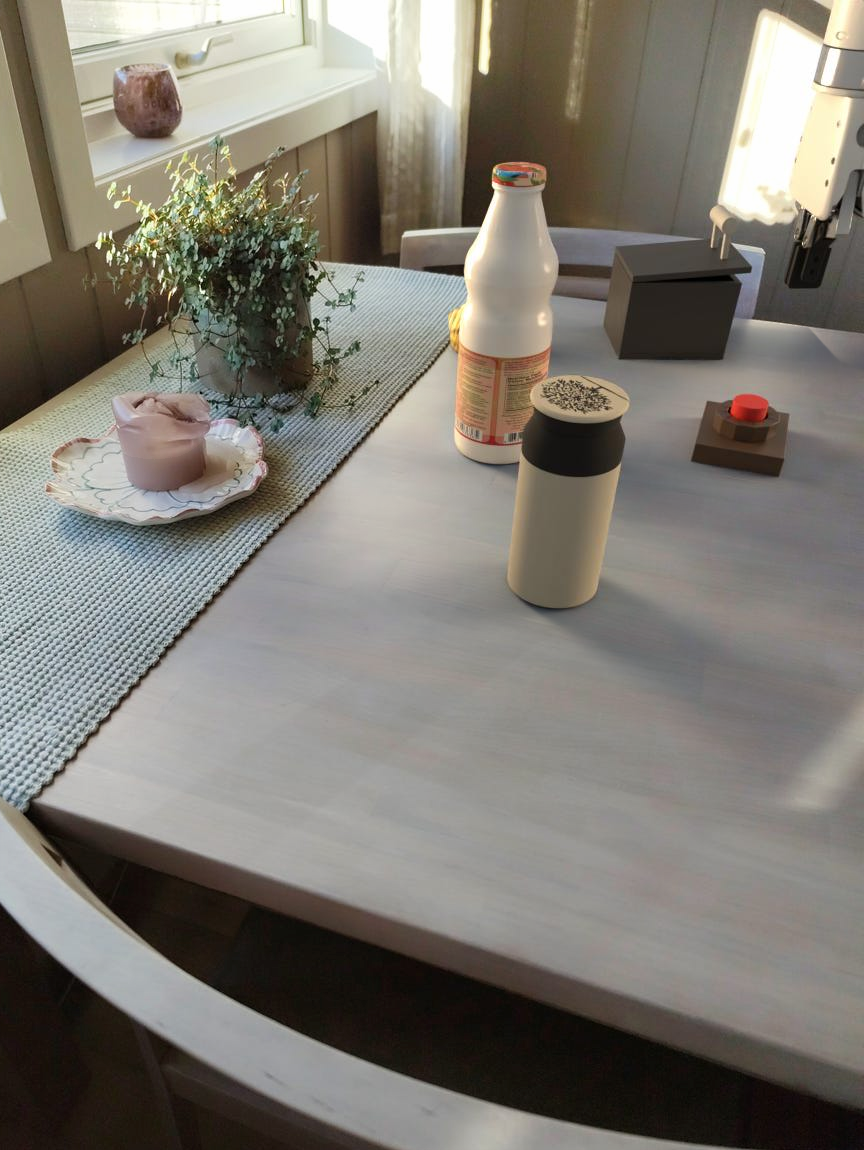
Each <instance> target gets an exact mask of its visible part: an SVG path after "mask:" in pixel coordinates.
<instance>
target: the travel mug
mask: <svg viewBox="0 0 864 1150" xmlns="http://www.w3.org/2000/svg"><path fill="white" fill-rule="evenodd" d="M530 399H531V402H532V404H533V407H534V414H533V415H532V416H531V418H530V419H529V421H528V422H527V423H526V425H525V426H524V429H523V437H522V446H521V455H520V461H519V465H518V475H517V484H516V493H515V502H514V511H513V520H512V531H511V538H510V539H511V540H510V549H509V557H508V558H509V559H508V567H507V577H506V580H507V583H508V586H509V588H510V589H511V591H512V593H514V594H515V595H516V596H517V597H519V598H520V599H522V600H524V601H526V602H527V603H530V604H533V605H536V606H539V607H543V608H548V609H549V608H550V609H567V608H573V607H577V606H580V605H582V604H584V603H586V602H588V601H590V600H591V599H592V598H593V597H594V596H595V595H596V593H597V590H598V587H599V586H598V585H599V581H600V576H601V569H602V565H603V561H604V560H603V559H604V555H605V549H606V545H607V544H606V543H607V539H608V533H609V528H610V523H611V518H612V513H613V508H614V503H615V499H616V498H615V497H616V492H617V487H618V482H619V476H620V473H621V465H622V460H623V457H624V451H625V445H626V440H627V439H626V435H625V432H624V429H623V426H622V424H621V421H622V418H623V415H624V414H625V413H626V411H628V409H629V408H630V407H629V406H630V397H629V396H628V394H627V393H626V391H625V390H624V389H622V388H621V387H620V386H618V385H617V384H615V383H612V382H610V381H608V380H605V379H601V378H598V377H593V376H589V375H588V376H587V375H574V374H573V375H571V374H569V375H559V376H554V377H550V378H547V379H546V380H544V381H541V382H540V383H538V384H537V385H535V386H534V388H533V389H532V391H531V393H530Z"/></svg>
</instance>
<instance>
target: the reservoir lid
mask: <svg viewBox="0 0 864 1150" xmlns="http://www.w3.org/2000/svg"><path fill="white" fill-rule="evenodd" d="M709 219H710V220H711V221H712V222H713V226H712V233H711V238H702V239H691V240H679V241H677V240H676V241H665V242H653V243H641V244H631V245H629V244H627V245H618V246H615V247H614V254H615V253H616V255H617V257H618V258H619V260H620V262H621V263H622V265H623V267H624V269H625V270H626V272H627V274H628V276H629V277H630V279H631V281H632V282H645V281H657V280H670V279H682V278H695V277H707V276H720V275H732V274H735V275H742V274H743V275H744V274H745V275H746V274H752V271H753V265H751V264H750V262H749V261H748V260H747V259H746V258H745V257H744V256H743V255H742V253H740V252H739V250H738V249H737V248H736V246H735V245H733V244H732V242H731V236H732V234H734V233H735V232H736V231H737V229H738V228H739V221H738V219H737V217H736V216H735V215H733V213H731V211H729V209H727V207H726V206H725V205H724V204H716V205H715V206H713V207H712V208H711V210H710V212H709ZM720 232H722V233H723V237H720Z"/></svg>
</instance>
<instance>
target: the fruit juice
mask: <svg viewBox="0 0 864 1150" xmlns="http://www.w3.org/2000/svg"><path fill="white" fill-rule="evenodd" d="M546 182H547V168H546V167H545V166H543V165H541V164H538V163H534V162H529V161H528V162H526V161H509V162H502V163H499V164H496V165H495V166H494V167H493V170H492V173H491V186H492V189H493V190H494V192H493V196H492V198H491V201H490V204H489V206H488V209H487V211H486V214H485V217H484V220H483V222H482V225H481V227H480V229H479V232H478V234H477V236H476V238H475V239H474V242H473V243H472V245H470V247H469V249H468V251H467V254H466V256H465V260H464V267H463V274H464V275H463V276H464V282H465V286H466V292H467V298H466V302H465V303H466V304H465V303H464V304H465V305H464V308H463V311H462V315H461V322H460V331H459V353H457V354H458V355H457V356H458V357H457V372H456V373H457V376H456V391H455V393H456V394H455V395H456V396H455V410H454V411H455V413H454V414H455V415H454V431H453V433H454V443H455V446H456V448H457V450H458V452H460V453H461V454H462V455H463V456H465V457H467V458H469V459H470V460H473V461H476V462H480V463H483V464H489V465H509V464H510V465H511V464H515V463H518V462H519V463H520V455H521V446H522V437H523V429H524V426H525V425H526V423H527V422H528V421H529V419H530V418H531V416H532V415H533V414H534V407H533V404H532V402H531V399H530V393H531V391H532V389H533V388H534V386H535V385H537V384H538V383H540V382H541V381H544V380H546V379H548V375H549V374H548V373H549V365H550V356H551V349H552V340H553V331H554V314H553V310H552V309H553V308H552V306H551V297H552V294H553V292H554V289H555V287H556V284H557V281H558V276H559V256H558V253H557V251H556V248H555V247H554V244H553V242H552V239H551V236H550V232H549V228H548V223H547V217H546V214H545V213H546V212H545V209H544V208H545V207H544V204H543V199H542V198H543V197H542V192H543V190H544V189H545V187H546Z"/></svg>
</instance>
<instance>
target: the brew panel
mask: <svg viewBox="0 0 864 1150" xmlns="http://www.w3.org/2000/svg"><path fill="white" fill-rule="evenodd" d="M733 400H734V399H727V400H724V401H722V402H718V401H711V400H706V402H705V407H704V410H703V414H702V418H701V421H700V424H699V429H698V432H697V436H696V440H695V444H694V446H693V451H692V455H691V459H690V462H692V463H697V464H701V465H702V464H703V465H708V466H713V467H719V468H725V469H732V470H736V471H742V472H748V473H754V474H758V475H759V474H760V475H765V476H769V477H770V476H771V477H777V478H779V477H780V476H781V475H780V474H781V471H782V469H783V465H784V462H785V459H786V449H787V442H788V441H787V440H788V433H789V423H790V413H789V412H782V411H777V410H776V409H775V408H774V407H773V406H770V405H769V406H768V409H767V413H766V416H765V419H764V421H762V422H747V421H741V420H739V419H737V418H734V417H732V416H731V415H730V411H731V408H732V404H733Z"/></svg>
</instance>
